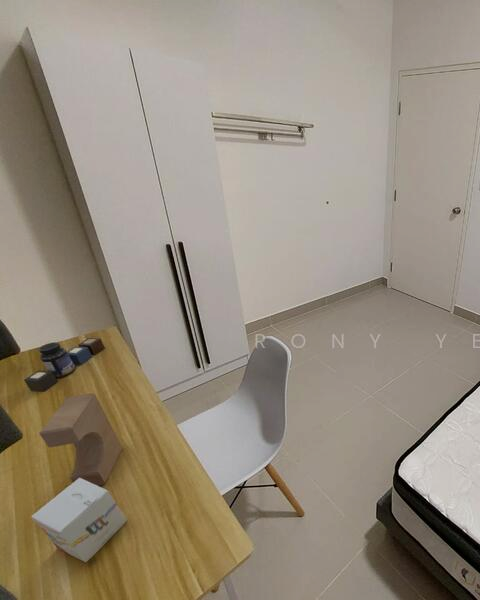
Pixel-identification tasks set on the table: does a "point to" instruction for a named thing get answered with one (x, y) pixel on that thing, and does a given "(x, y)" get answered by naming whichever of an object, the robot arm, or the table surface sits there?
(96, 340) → the block
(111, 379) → the table surface
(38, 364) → the table surface
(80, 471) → the decorative block
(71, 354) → the block
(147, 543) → the table surface
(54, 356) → the pill bottle
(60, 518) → the ink box
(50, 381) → the block
